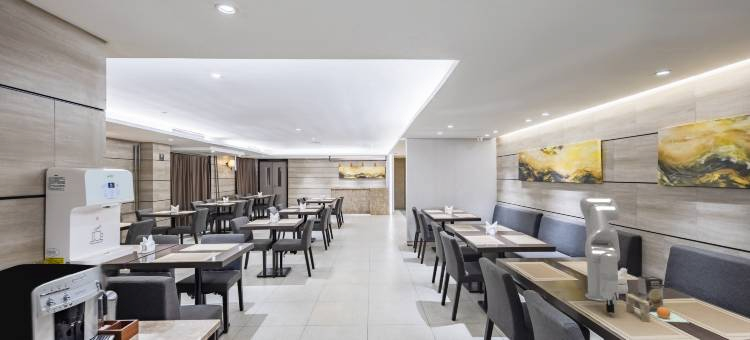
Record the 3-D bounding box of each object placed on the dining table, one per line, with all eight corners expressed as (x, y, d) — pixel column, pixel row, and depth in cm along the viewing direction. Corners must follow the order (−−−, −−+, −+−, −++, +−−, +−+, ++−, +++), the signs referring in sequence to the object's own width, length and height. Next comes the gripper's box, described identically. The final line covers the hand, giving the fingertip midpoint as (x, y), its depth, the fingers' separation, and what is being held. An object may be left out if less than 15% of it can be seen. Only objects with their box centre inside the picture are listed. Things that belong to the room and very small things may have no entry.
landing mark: (647, 312, 185) (647, 312, 185) (672, 313, 183) (672, 313, 183) (662, 321, 173) (662, 321, 173) (689, 322, 171) (689, 322, 171)
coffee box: (647, 309, 189) (646, 279, 190) (638, 305, 196) (637, 276, 196) (664, 308, 190) (662, 279, 190) (654, 304, 196) (653, 276, 197)
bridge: (643, 321, 173) (642, 302, 173) (626, 310, 187) (625, 293, 188) (649, 321, 173) (649, 303, 173) (632, 311, 187) (632, 293, 187)
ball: (667, 307, 179) (665, 317, 179) (655, 304, 180) (653, 314, 180) (673, 310, 174) (671, 321, 174) (661, 307, 175) (658, 318, 175)
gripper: (594, 272, 190) (595, 306, 190) (608, 280, 176) (610, 317, 175) (609, 273, 189) (610, 307, 189) (625, 280, 175) (626, 317, 174)
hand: (610, 312), depth 182 cm, fingers closed
